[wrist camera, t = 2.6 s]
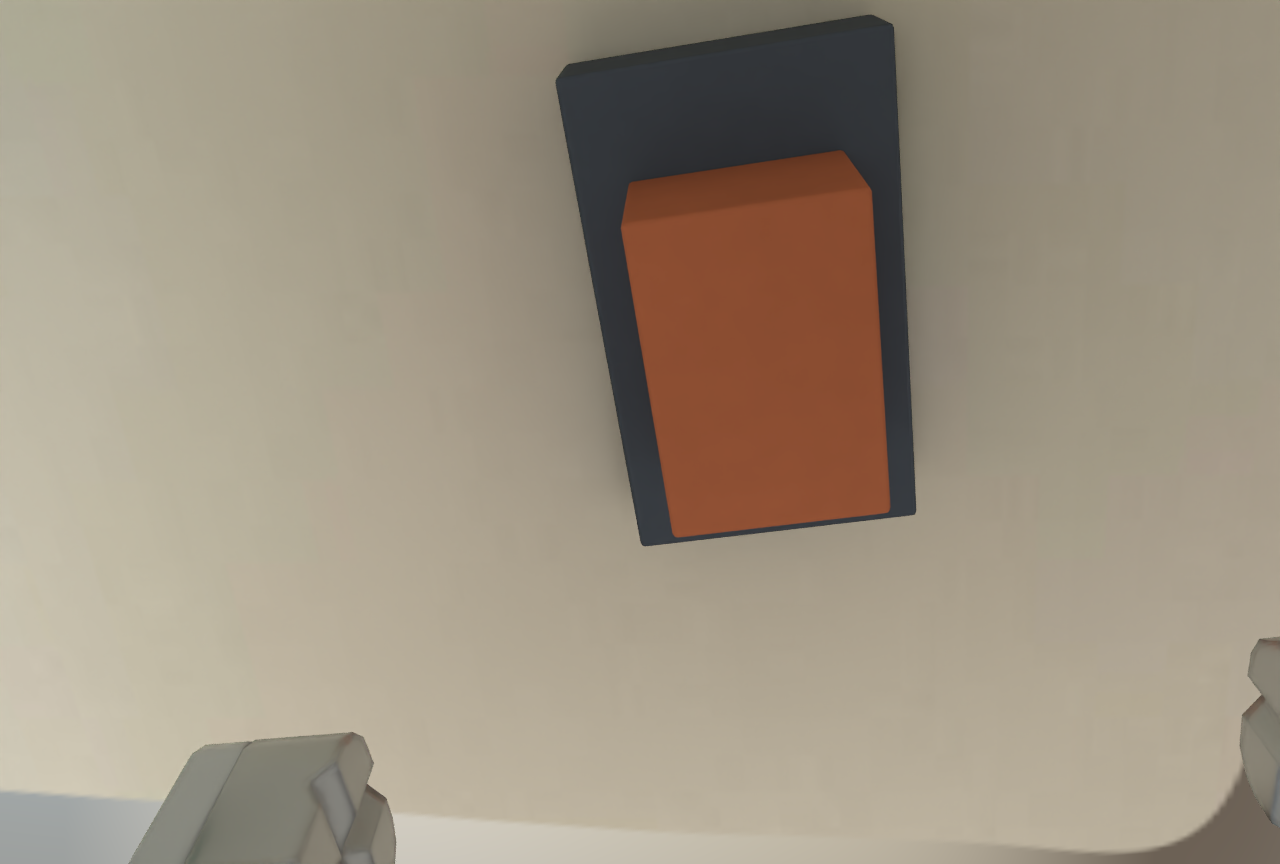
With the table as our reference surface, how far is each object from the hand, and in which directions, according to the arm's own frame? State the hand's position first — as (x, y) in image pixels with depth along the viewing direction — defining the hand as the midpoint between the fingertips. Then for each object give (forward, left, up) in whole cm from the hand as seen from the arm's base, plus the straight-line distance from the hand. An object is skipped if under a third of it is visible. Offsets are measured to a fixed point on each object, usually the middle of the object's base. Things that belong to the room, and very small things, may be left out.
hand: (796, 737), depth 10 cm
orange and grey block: (0, 0, -14) cm, 14 cm away
